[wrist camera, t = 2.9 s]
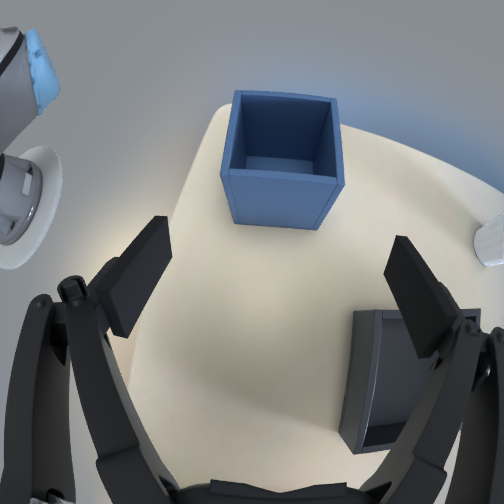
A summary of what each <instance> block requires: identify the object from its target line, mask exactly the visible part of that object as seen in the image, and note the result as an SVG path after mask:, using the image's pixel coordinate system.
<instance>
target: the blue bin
mask: <svg viewBox="0 0 504 504" xmlns="http://www.w3.org/2000/svg"><path fill="white" fill-rule="evenodd" d="M220 176H221V180H222V183H223V186H224V190H225V193H226V197H227V200H228V203H229V207H230V210H231V213H232V217H233V220H234V223H235V224H244V225H258V226H271V227H284V228H296V229H307V230H317V229H318V228H319V226H320V225H321V223H322V222H323V220H324V218H325V217H326V215H327V213H328V212H329V210H330V209H331V207H332V205H333V204H334V202H335V201H336V199H337V197H338V196H339V194H340V192H341V191H342V189H343V187H344V186H345V179H344V164H343V152H342V141H341V131H340V122H339V114H338V106H337V100H336V99H334V98H327V97H320V96H313V95H305V94H295V93H284V92H270V91H241V90H240V91H239V90H236V91H235V93H234V99H233V103H232V108H231V114H230V119H229V125H228V130H227V136H226V141H225V147H224V153H223V159H222V165H221V171H220Z"/></svg>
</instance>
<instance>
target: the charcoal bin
mask: <svg viewBox="0 0 504 504" xmlns="http://www.w3.org/2000/svg"><path fill="white" fill-rule="evenodd" d="M460 310H461V312H462V314H463V315H464V317H465V319H470V320H472V321H474V322H475V323H477V324H478V326H479V327H480V316H481V309H480V308H479V309H460ZM438 356H439V353H438V351H437V349H436V351H435V352H434V354H433V355H432V356H431V358H422V359H418V357H417V354H416V351H415V348H414V346H413V343H412V340H411V338H410V335H409V332H408V330H407V327H406V325H405V322H404V320H403V317H402V315H401V312H400V310H363V311H354V317H353V330H352V342H351V352H350V361H349V369H348V377H347V385H346V391H345V398H344V404H343V410H342V416H341V421H340V426H339V431H338V433H339V434H340V436H341V437H342V439H343V440H344V442H345V443H346V445H347V446H348V447H349V449H350V450H351V452H352V453H353V454H363V453H370V452H377V451H383V450H389V449H391V448H392V447H393V445H394V443H395V442H396V440H397V439H398V437H399V435H400V433H401V432H402V430H403V428H404V426H405V425H406V423H407V421H408V419H409V417H410V415H411V413H412V411H413V409H414V408H415V406H416V404H417V401H418V399H419V397H420V395H421V393H422V391H423V389H424V386H425V384H426V382H427V380H428V377H429V375H430V373H431V370H432V368H431V370H430V371H429V370H428V369H429V368H430V366H431V365H432V364H433V362H434V361H435V360H436V359H437V357H438ZM462 421H463V420H462ZM461 429H462V423H461V425H460V428H459V431H460V430H461Z"/></svg>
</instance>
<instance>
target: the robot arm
mask: <svg viewBox="0 0 504 504" xmlns="http://www.w3.org/2000/svg"><path fill="white" fill-rule="evenodd" d="M59 91H60V83H59V79H58V77H57V74H56V72H55V69H54V67H53V65H52V62H51V60H50V58H49V56H48V53H47V51H46V49H45V46H44V44H43V42H42V40H41V38H40V36H39V34H38V33H37V31H36V29H31V30H30V31H27V32H26V33H25V35H23V34H22V33H21V32H20V30H19V29H18V28H17V27H10V28H4V29H2V28H0V244H2V245H5V246H9V245H12V244H14V243H15V242H17V241H18V240H19V239H20V238H21V237H22V235H23V234H24V233H25V232H26V230H27V229H28V227H29V225H30V224H31V222H32V220H33V218H34V215H35V213H36V211H37V208H38V205H39V202H40V198H41V194H42V188H43V176H42V172H41V169H40V168H39V167H38V166H37V165H36V164H35V163H33V162H32V161H29V160H26V159H22V158H18V157H13V156H8V155H5V154H4V153H3V152H4V151H5V149H6V148H7V147H8V146H9V145H10V144H11V143H12V141H13V140H14V139H15V138H16V137H17V136H18V135H19V134H20V133H21V132H22V131H23V130H24V129H25V128H26V127H27V126H28V125H29V124H30V123H31V122H32V120H34V119H35V118H36V117H37V116H38V115H41V114H42V111H43V110H44V109H45V108H46V107H47V106H48V105H49V104H50V103H51V102H52V101H54V100H55V99H56V97H57V96H58V94H59ZM171 259H172V251H171V243H170V235H169V227H168V218H167V216H154V218H153V219H152V220H151V221H150V222H149V223H148V224H147V225H146V227H145V228H144V229H143V230H142V231H141V232H140V233H139V235H138V236H137V237H136V238H135V239H134V240H133V241H132V243H131V244H130V245H129V246H128V247H127V248H126V250H125V251H124V252H123V253H122V254H121V256H120V257H114V258H112V259H111V260H109V261H108V262H106V264H105V265H104V266H103V267H102V269H101V270H100V271H99V272H98V273H97V275H96V276H95V277H94V278H93V279H92V281H91V282H90V283H89V284H88V286H86V284H85V281H84V279H83V277H81V276H76V275H74V276H70V277H68V278H65V279H64V280H63V281H61V282H60V284H59V285H58V287H57V291H58V293H59V296H60V298H61V300H62V302H55V303H53V301H52V298H51V297H50V295H47V294H41V295H38V296H37V297H35V298H34V299H33V300H32V301H31V302H30V304H29V307H28V310H27V313H26V316H25V319H24V322H23V326H22V329H21V333H20V336H19V340H18V344H17V348H16V352H15V357H14V362H13V366H12V371H11V377H10V383H9V389H8V397H7V404H6V414H5V429H4V469H3V473H2V478H1V483H0V504H75V503H76V493H75V492H76V491H75V480H74V473H73V465H72V456H71V445H70V430H69V377H70V361H71V362H72V367H73V371H74V377H75V381H76V386H77V390H78V394H79V398H80V402H81V405H82V409H83V412H84V416H85V419H86V422H87V425H88V429H89V432H90V434H91V437H92V440H93V443H94V446H95V448H96V451H97V454H98V459H97V460H96V467H97V470H98V473H99V475H100V478H101V480H102V482H103V484H104V486H105V489H106V491H107V493H108V495H109V497H110V499H111V501H112V503H113V504H433V503H434V501H435V500H436V498H437V496H438V494H439V492H440V490H441V489H442V487H443V485H444V483H445V480H446V478H447V472H446V471H445V470H444V465H445V463H446V460H447V458H448V456H449V454H450V451H451V449H452V447H453V444H454V442H455V439H456V436H457V434H458V431H459V428H460V425H461V423H462V429H461V436H460V442H459V448H458V453H457V458H456V463H455V468H454V472H453V476H452V480H451V484H450V487H449V491H448V494H447V498H446V501H445V504H504V329H502V328H500V327H495V328H494V329H493V330H492V332H491V333H490V334H487V333H483V332H482V331H481V329H480V327H479V326H478V324H477V323H475V322H474V321H472V320H470V319H465V317H464V315H463V314H462V312H461V310H460V308H459V307H458V305H457V303H456V302H455V300H454V298H453V297H452V296H451V294H450V292H449V290H448V289H447V288H446V287H445V286H444V285H443V284H442V283H441V282H438V281H437V279H436V277H435V276H434V274H433V273H432V271H431V270H430V268H429V267H428V265H427V264H426V262H425V261H424V260H423V258H422V257H421V255H420V254H419V252H418V251H417V250H416V248H415V247H414V246H413V244H412V243H411V241H410V240H409V239H408V237H406V236H398V235H396V237H395V241H394V244H393V247H392V250H391V253H390V256H389V259H388V262H387V265H386V268H385V271H384V276H385V278H386V281H387V283H388V285H389V287H390V289H391V292H392V294H393V296H394V298H395V301H396V303H397V305H398V308H399V310H400V312H401V315H402V317H403V320H404V322H405V325H406V327H407V330H408V332H409V335H410V338H411V340H412V343H413V346H414V348H415V351H416V354H417V357H418V359H422V358H431V356H432V355H433V354H434V352H435V351H436V349H437V351H438V353H439V356H438V357H437V359H436V360H435V361H434V362H433V364H432V365H431V366H430V368H429V369H428V370H429V371H430V370H431V368H432V370H431V373H430V375H429V377H428V380H427V382H426V384H425V386H424V389H423V391H422V393H421V395H420V397H419V399H418V401H417V404H416V406H415V408H414V409H413V411H412V413H411V415H410V417H409V419H408V421H407V423H406V425H405V426H404V428H403V430H402V432H401V433H400V435H399V437H398V439H397V440H396V442H395V443H394V445H393V447H392V448H391V450H390V451H389V453H388V455H387V456H386V458H385V459H384V461H383V462H382V464H381V465H380V467H379V468H378V469H377V471H376V472H375V473H374V474H373V475H372V476H371V477H370V478H369V479H368V480H367V481H366V482H365V483H364V484H363V485H362V486H361V487H360V488H359V489H358V490H357V489H354V488H350V487H347V482H344V483H335V484H322V485H313V486H309V487H305V488H301V489H297V490H293V491H288V492H284V493H277V492H273V491H269V490H265V489H262V488H258V487H255V486H251V485H248V484H245V483H235V482H227V481H220V480H213V479H211V481H210V483H203V484H197V485H193V486H189V487H186V488H184V489H181V488H180V487H179V485H178V484H177V482H176V481H175V479H174V478H173V476H172V475H171V473H170V472H169V471H168V469H167V468H166V467H165V465H164V464H163V462H162V461H161V459H160V457H159V455H158V454H157V452H156V450H155V448H154V446H153V444H152V442H151V441H150V439H149V437H148V435H147V433H146V431H145V429H144V427H143V425H142V423H141V420H140V418H139V416H138V414H137V412H136V410H135V407H134V405H133V403H132V400H131V398H130V396H129V393H128V391H127V388H126V386H125V383H124V381H123V378H122V376H121V373H120V370H119V368H118V365H117V362H116V359H115V356H114V353H113V350H112V347H111V344H110V341H109V338H108V336H107V333H106V332H107V331H108V329H109V327H110V328H111V330H112V333H113V335H115V336H119V337H123V338H128V337H129V335H130V333H131V331H132V329H133V327H134V325H135V323H136V322H137V319H138V318H139V316H140V314H141V312H142V310H143V308H144V306H145V305H146V303H147V301H148V299H149V297H150V295H151V294H152V292H153V290H154V288H155V286H156V285H157V283H158V281H159V279H160V278H161V276H162V274H163V272H164V271H165V269H166V267H167V265H168V264H169V262H170V260H171ZM489 370H490V373H489V375H488V371H489ZM462 420H463V421H462Z"/></svg>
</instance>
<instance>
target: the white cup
mask: <svg viewBox="0 0 504 504" xmlns="http://www.w3.org/2000/svg"><path fill="white" fill-rule="evenodd" d="M474 247H475V252H476V255H477V257H478V259H479V260H480V262H481V263H482V264H484V265H485V266H491V265H497V264H503V263H504V212H503V213H501V214H500V215H499V216H497V217H496V218H494V219H493V220H491V221H490V222H489V223H487V224H486V225H484V226H483V227H481V228H480V229H478V230H477V231H476V233H475V236H474Z"/></svg>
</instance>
